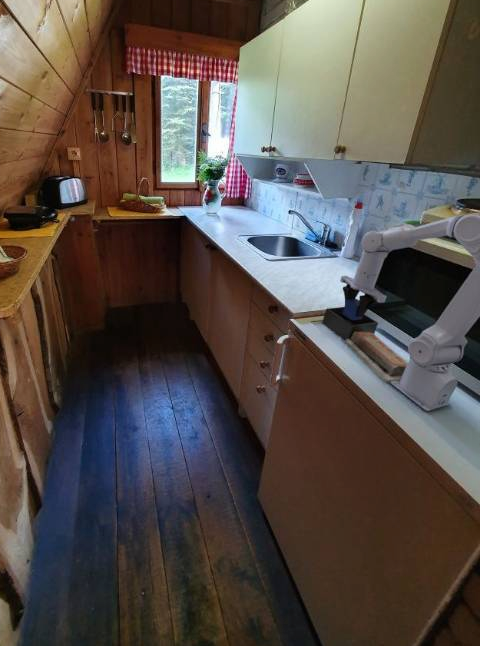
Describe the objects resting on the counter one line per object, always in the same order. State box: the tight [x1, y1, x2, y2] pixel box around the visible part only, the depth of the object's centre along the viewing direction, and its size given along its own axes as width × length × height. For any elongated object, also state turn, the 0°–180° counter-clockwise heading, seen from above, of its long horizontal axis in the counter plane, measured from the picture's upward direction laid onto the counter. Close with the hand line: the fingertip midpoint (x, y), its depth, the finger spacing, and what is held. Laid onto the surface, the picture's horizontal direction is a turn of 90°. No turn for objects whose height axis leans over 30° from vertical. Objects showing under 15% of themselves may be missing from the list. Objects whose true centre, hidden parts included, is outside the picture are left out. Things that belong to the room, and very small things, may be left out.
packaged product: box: [344, 332, 408, 384], centre depth 86 cm, size 18×5×10 cm
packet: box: [342, 298, 363, 320], centre depth 94 cm, size 4×4×5 cm
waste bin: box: [322, 306, 379, 341], centre depth 100 cm, size 11×11×6 cm
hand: (353, 312), depth 94 cm, fingers closed on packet, 4 cm apart
